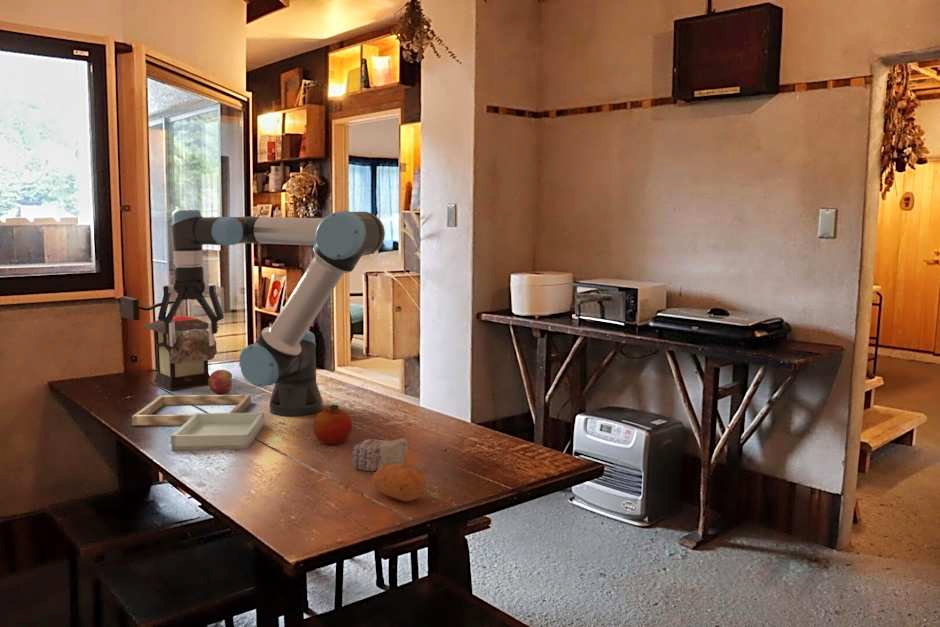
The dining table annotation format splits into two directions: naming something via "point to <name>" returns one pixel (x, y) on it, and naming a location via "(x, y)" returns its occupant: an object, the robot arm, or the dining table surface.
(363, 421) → the dining table surface
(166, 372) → the lantern
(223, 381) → the fruit
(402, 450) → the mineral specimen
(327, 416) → the fruit
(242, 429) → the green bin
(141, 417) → the pine frame
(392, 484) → the potato
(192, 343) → the rock
